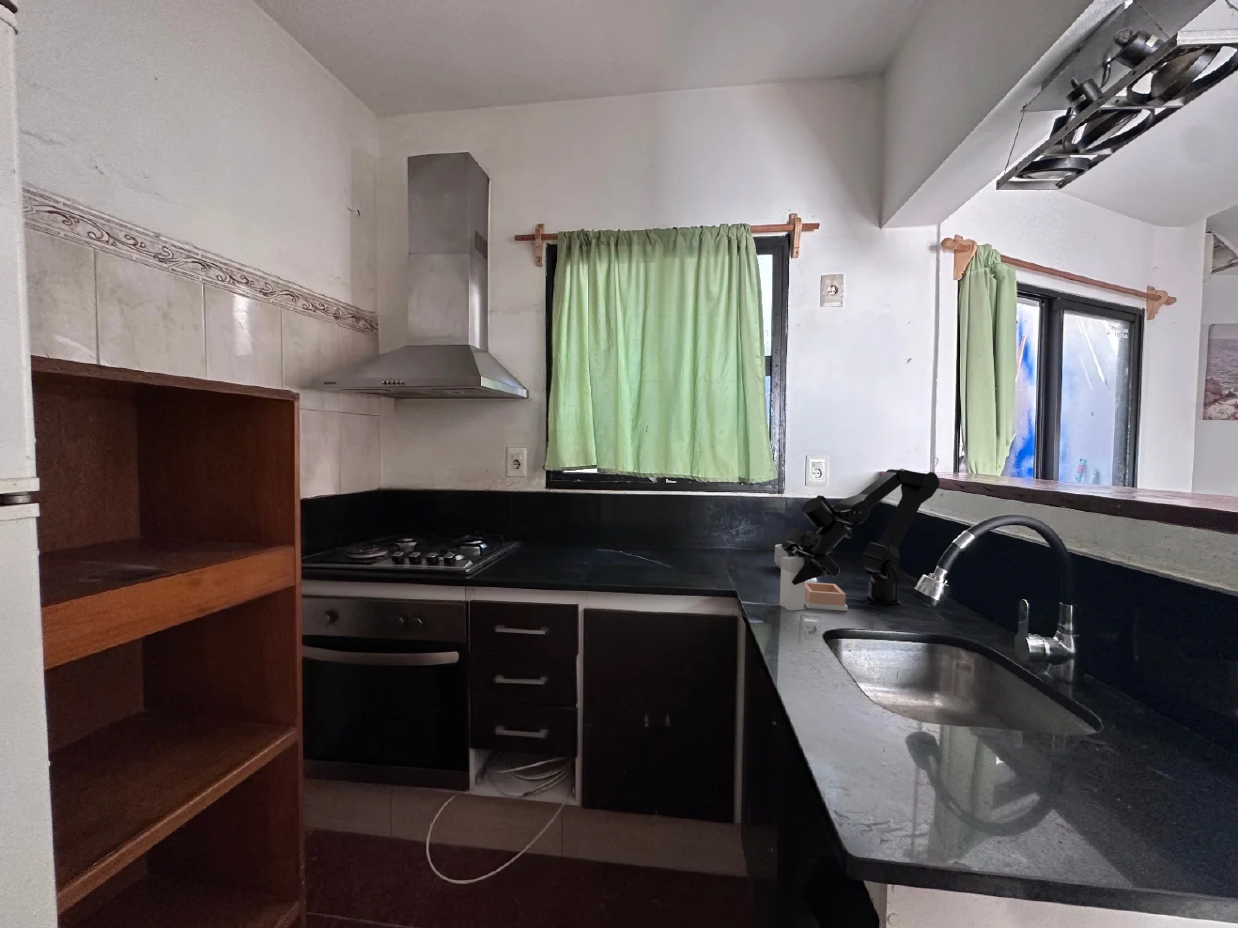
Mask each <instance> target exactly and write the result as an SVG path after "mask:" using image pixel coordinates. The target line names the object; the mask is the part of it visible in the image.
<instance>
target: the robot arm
mask: <svg viewBox="0 0 1238 928" xmlns="http://www.w3.org/2000/svg"><path fill="white" fill-rule="evenodd" d="M940 483H941V482H940V479H939V477H938V475H937V474H936V473H935V472H933V471H923V470H920V471H919V470H908V469H906V468H898V467H890V468H888V469H887V470H886V471H885V473H884V474H881V476H879V477H878V478H877V479H875V480H874V481H873V482H872V483H870V484H869V485H867V487H865V488H864V489H863V490H862V491H860V492H859V493H857V494H855V495H853V496H852V495H851V496H849V497H845V498H844V499H841V500H839V501H838V502H836V503H835V505H831V504H830V503H829V502H828V500H827V498H826V496H824V495H820V494H819V495H817V496H816V497H813V498H811V499H809V500H808V501H805V502H804V503H803V505H802V507H801V512H802V513H803V514H804V515H805V516H806V517H807V519H808V520H809V522H810V523H811V524H813V526H814V527H815V528H819V529H818V530H817V532H815V531H814V530H809V529H807V531H803V530H801V529H798V528H794V527H792V528H791V530H790V533H789V534H788V537H787V539H788V540H784V542H783V543H782V545H781V547H782V548H783V549H784V550H785V552H786V553H787V554H788V557H798V558H801V559H803V560H804V566H803V567H802V569H801V570H800V571H799V572H798V574H797V575H796V576H795V578H794V579H793V581H792V583H793V584H794V585H797V584H799V583H802V582H804V581H805V582H808V581H809V580H813V579H815V578H819V577H825V576H826V574H827V576H829V577H831V578H834V579H835V578H836V577H838V575H839V574H840V572H841V571H840V570H841V569H840V566H839V565H838V564H837V563H836V561H834V560H833V559H832V557H831V556H830V555H829V554H830V553H831V554H834V553H835V552H836V551H837V549H835V547H836V546H837V545H838V544H839V542H841V540H843V538H844V537H845V538H847V539H853V537H854V535H853V528H851V527H848V526H847V525H846V524H848V525H854V526H859V525H862V524H863V522H864V521H866V519H867V518H868V517H870V514H871V510H872V508H874V506H875V505H877V504H878V503H880V501H882V500H883V499H884V498H886V497H887V496H888V495H889V494H891V493H892V492H893V491H895V490H896V489H898V487H900V491H901V498H900V500H899V502H898V503H897V505H896V507H895V509H894V511H893V514H892V515H891V517H890V519H889V520H888V524H887V526H886V528H885V529H884V530H883V533H882V535H881V537H880V539H879V540H878V541H876V542H871V541H870V542H868V543H867V545H866V548H865V549H864V551H863V552H862V555H863V556H862V558H861V559H862V560H861V562H862V565H863V568H864V570H865V574H866V575H867V576H870V581H868V587H867V588H868V589H867V597H869V598H870V599H871V600H872V601H873V602H874V603H877V604H878V603H880V604H893V605H901V601H900V600H899V587H900V586H899V584H900V583H904V582H905V579H906V573H905V572H904V571H903V570H902V569H901V567H900V566H899V564H900V560H901V558H900V557H901V556H900V546H901V544H902V542H903V540H904V539H905V537H906V534H907V533H908V530H909V528H910V526H911V525H912V523H913V521H914V519H915V516H916V515H917V512H918V511H919V509H920V507H921V505H922V504H923V503H924V502H927V500H929V499H930V498H932V497H933V495H934V494H935V493H936V491H937V490H938V489H939V487H940ZM845 523H846V524H845ZM791 540H793V542H792V541H791ZM795 542H796V543H795ZM797 543H798V544H797ZM800 548H802V550H801V549H800ZM825 572H826V574H825Z"/></svg>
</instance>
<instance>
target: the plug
mask: <svg viewBox="0 0 1238 928" xmlns="http://www.w3.org/2000/svg"><path fill="white" fill-rule="evenodd" d="M803 566H804V560H803V559H801V558H798V557H781V569H780V589H779V605H780V606H781V607H783V608H784V607H785V608H784V609H786V610H788V611H800V610H801V611H802V610H805V604H804V598H805V582H806V581H804V582H802V583H799V584H797V585H794V584H793V583H792V581H793V579H794V578H795V576H796V575H797V574H798V572H799V571H800V570H801V569H802V567H803Z"/></svg>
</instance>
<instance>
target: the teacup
mask: <svg viewBox="0 0 1238 928" xmlns="http://www.w3.org/2000/svg"><path fill="white" fill-rule="evenodd" d="M782 544H783V543H782ZM782 544H781V543H779V544H775V546H774V563H775V564H776V566H777V567H778V568H779V569H780V570H781V557H788V554H787V553H786V552H785V550H784V549H783V548H782V547H781V545H782ZM800 549H801V550H802V548H800Z"/></svg>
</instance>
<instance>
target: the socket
mask: <svg viewBox="0 0 1238 928" xmlns="http://www.w3.org/2000/svg"><path fill="white" fill-rule="evenodd" d="M804 606H805V607H806V608H807V609H818V610H831V611H832V610H833V611H843V612H844V611H845V612H847V611H848V608H849V607H848V605H847V604H846V593H845V592H844V591H843V590H842V589H841V588H840V587H839V586H838V585H837V584H835V583H824V582H808V581H805V598H804Z"/></svg>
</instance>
